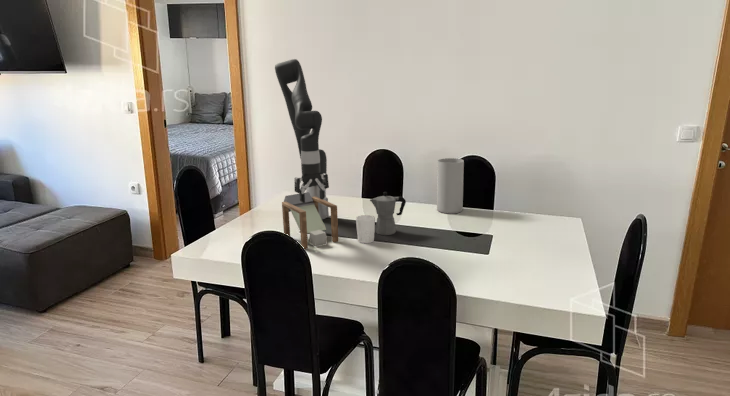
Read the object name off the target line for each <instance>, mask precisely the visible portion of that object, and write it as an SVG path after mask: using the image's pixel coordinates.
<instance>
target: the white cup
mask: <svg viewBox="0 0 730 396" xmlns="http://www.w3.org/2000/svg"><path fill="white" fill-rule="evenodd" d="M355 224H356V227H355V228H356V233H357V241H358V243H360V244H370V243H372V242H374V241H375V234H376V232H375V229H376V216H374V215H371V214H362V215H361V214H360V215H358V216H356V217H355Z"/></svg>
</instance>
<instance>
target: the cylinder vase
mask: <svg viewBox="0 0 730 396" xmlns="http://www.w3.org/2000/svg"><path fill="white" fill-rule="evenodd" d="M464 167H465V162H464V159H461V158H454V157H449V158H439V159H437V167H436V168H437V169H436V170H437V172H436V173H437V175H436V176H437V179H436V181H437V182H436V184H437V185H436V210H437V211H438V212H440V213H441V214H450V215H451V214H452V215H453V214H458V213H461V212H462V211H463V208H464V207H463V205H464V202H463V201H464V174H465V173H464V170H465V169H464Z"/></svg>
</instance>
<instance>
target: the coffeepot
mask: <svg viewBox="0 0 730 396" xmlns="http://www.w3.org/2000/svg"><path fill="white" fill-rule="evenodd" d="M369 201H370V202H371V204H372V205H373V206H374V208H375V213H376V214H377V218H376V221H375V234H377V235H380V236H390V235H394V234H396V233H397V227H396V221H395V218H394V214H395V210H396V209H395V208H396V203H397V202H401V203H400V208H399V212H397V213H396V216H401V215H403V211H404V209H405V206H406V202H407V201H406V199H405V198H404V197H403V196H391V195H388V192H387V191H384V192H383V195H380V196H377V197H374V198H371V199H369Z"/></svg>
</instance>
